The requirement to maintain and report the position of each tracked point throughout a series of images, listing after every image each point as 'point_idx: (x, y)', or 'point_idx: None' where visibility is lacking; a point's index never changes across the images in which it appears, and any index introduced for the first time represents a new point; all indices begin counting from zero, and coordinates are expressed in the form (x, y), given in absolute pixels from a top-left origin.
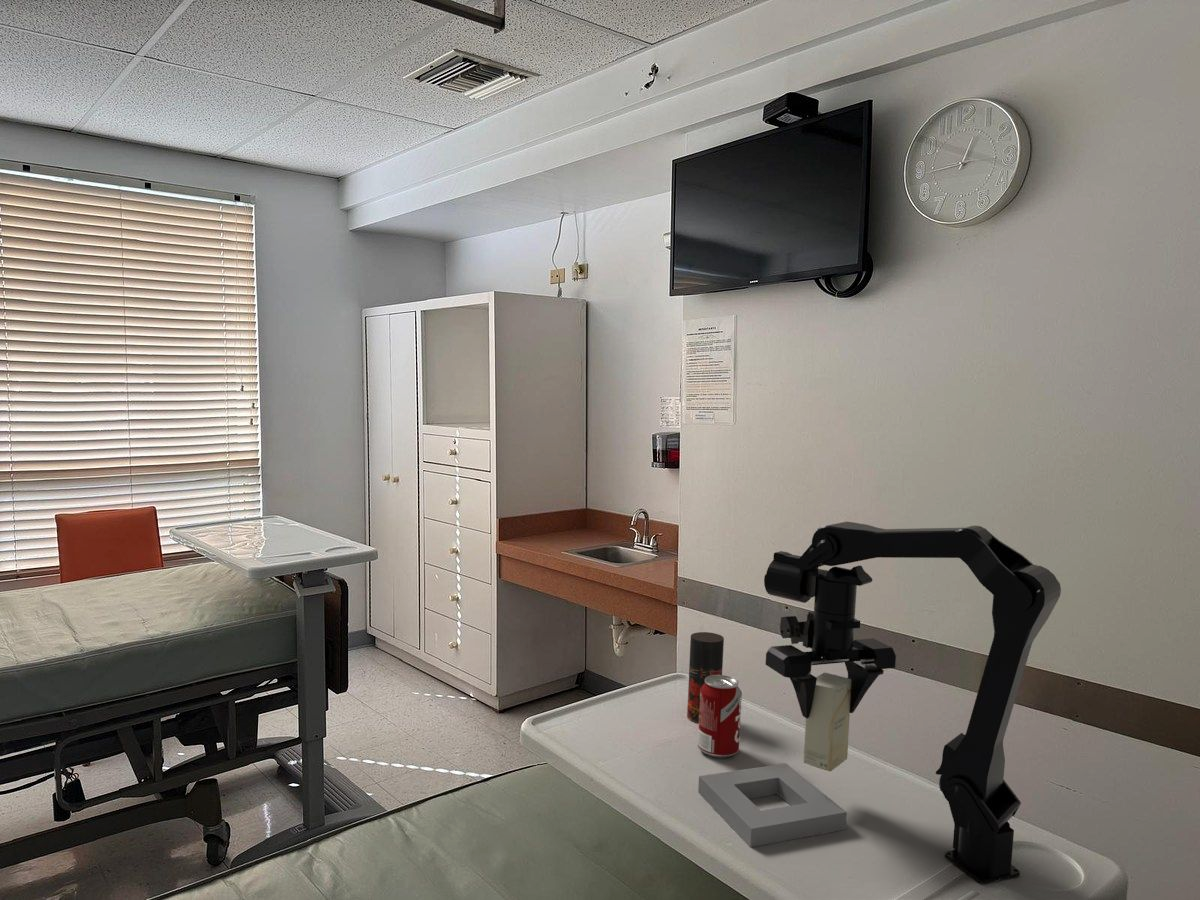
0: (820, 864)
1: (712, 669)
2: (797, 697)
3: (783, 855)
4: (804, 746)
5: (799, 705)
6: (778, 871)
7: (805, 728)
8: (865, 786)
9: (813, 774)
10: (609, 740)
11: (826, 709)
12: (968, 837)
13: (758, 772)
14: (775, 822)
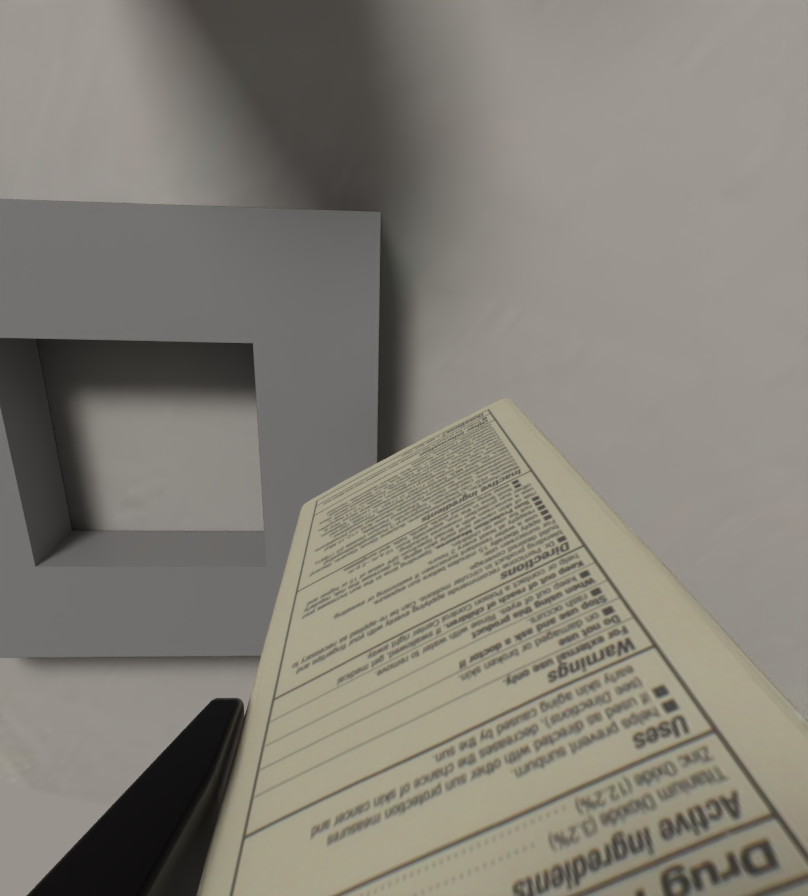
0: (181, 728)
1: None
2: (60, 872)
3: (87, 671)
4: (289, 554)
5: (143, 773)
6: (36, 725)
7: (267, 633)
8: (676, 388)
9: (543, 216)
10: None
11: None
12: None
13: (172, 261)
14: (61, 645)
